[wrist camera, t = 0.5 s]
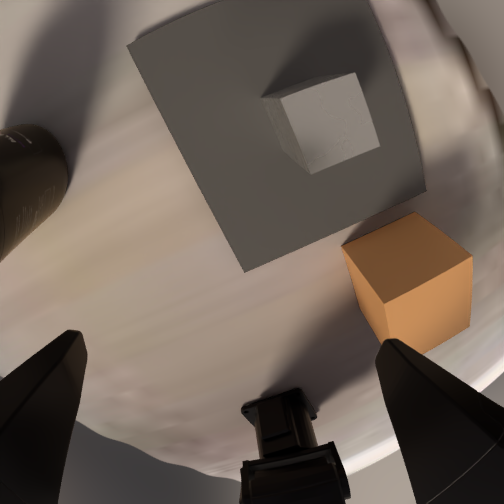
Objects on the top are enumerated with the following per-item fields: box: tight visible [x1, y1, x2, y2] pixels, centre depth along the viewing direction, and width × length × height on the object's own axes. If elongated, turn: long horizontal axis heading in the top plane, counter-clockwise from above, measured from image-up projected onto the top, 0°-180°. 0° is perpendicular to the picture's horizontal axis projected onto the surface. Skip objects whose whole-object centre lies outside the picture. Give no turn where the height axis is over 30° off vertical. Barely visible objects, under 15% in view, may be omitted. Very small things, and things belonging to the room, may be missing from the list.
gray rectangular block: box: [261, 72, 380, 174], centre depth 14 cm, size 3×3×6 cm
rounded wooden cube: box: [341, 212, 473, 354], centre depth 20 cm, size 6×6×7 cm
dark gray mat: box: [127, 0, 427, 273], centre depth 17 cm, size 16×14×1 cm
